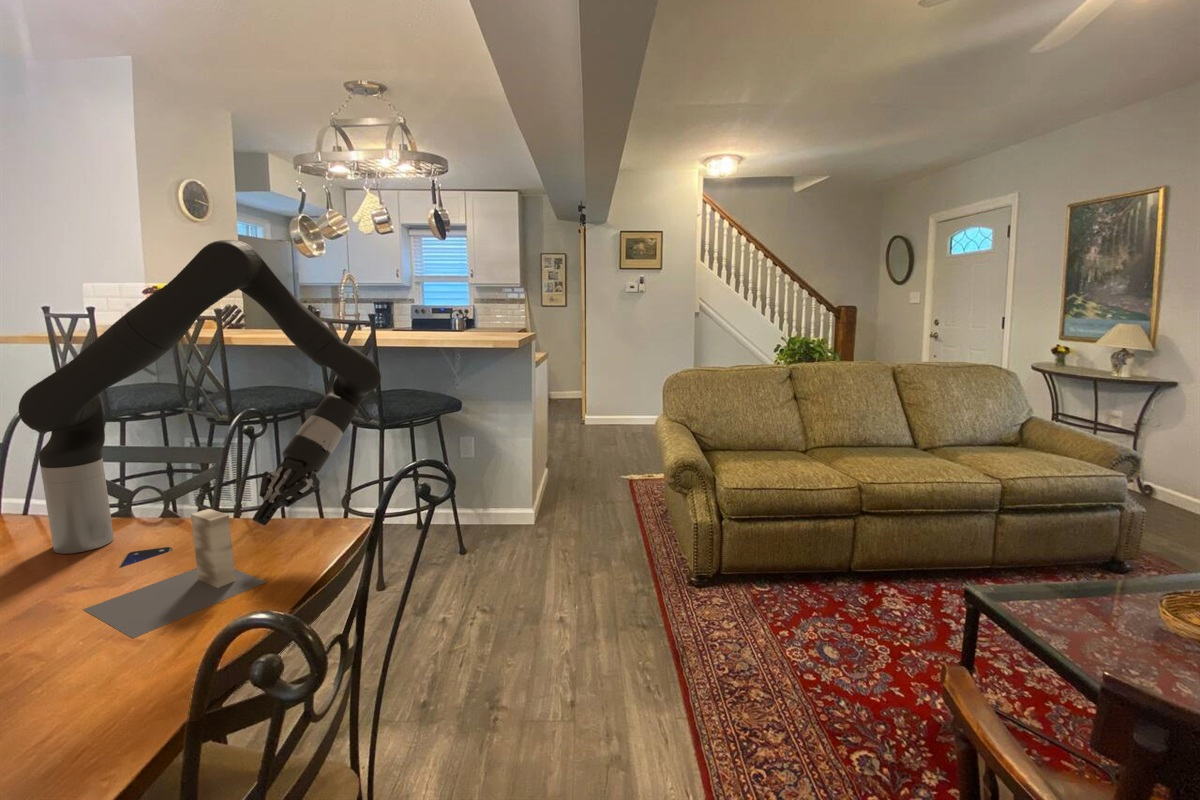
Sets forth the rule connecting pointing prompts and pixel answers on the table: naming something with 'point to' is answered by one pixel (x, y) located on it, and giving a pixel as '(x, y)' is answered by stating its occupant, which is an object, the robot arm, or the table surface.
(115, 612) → the rubber mat
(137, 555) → the smartphone
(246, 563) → the table surface
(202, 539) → the beige rectangular block
